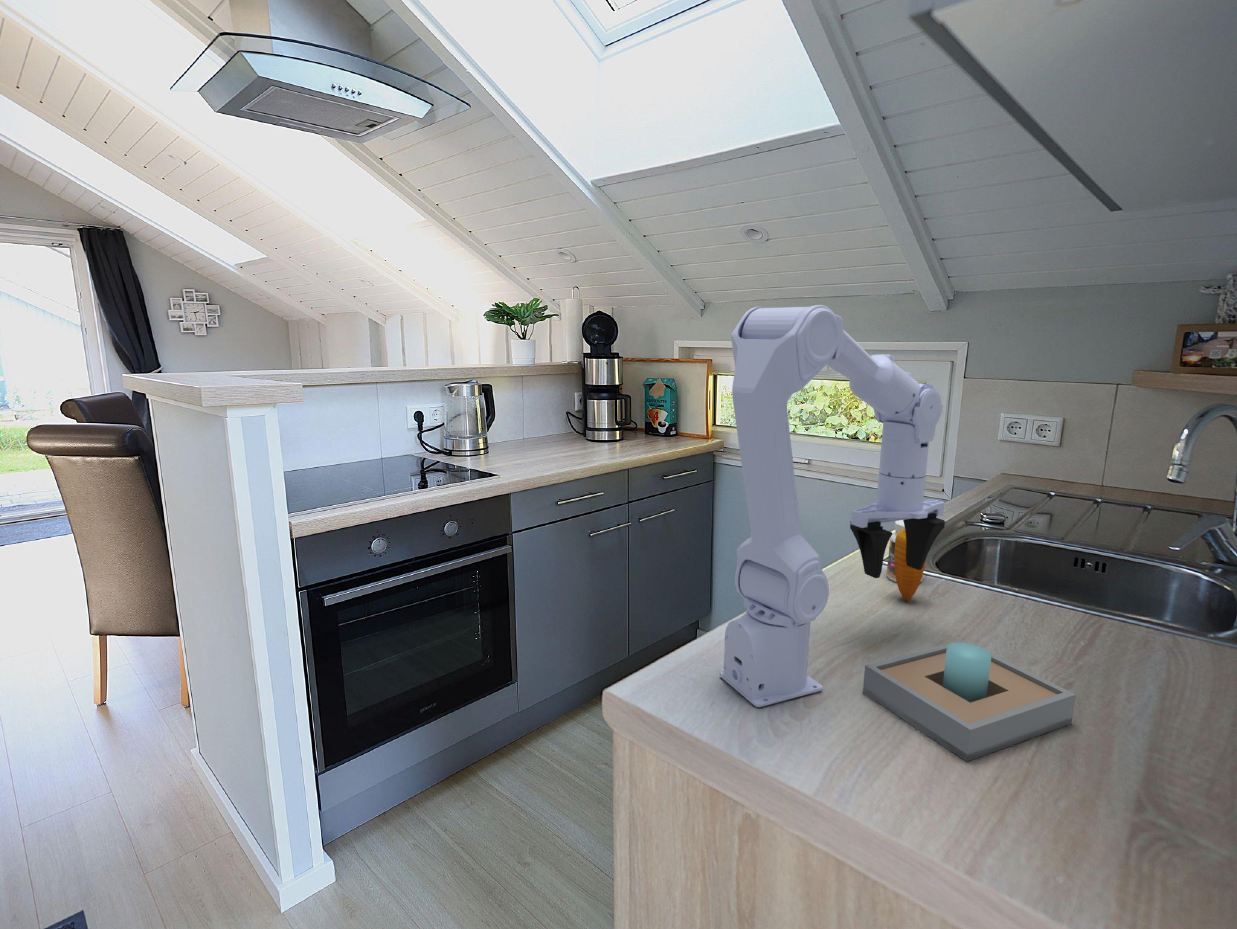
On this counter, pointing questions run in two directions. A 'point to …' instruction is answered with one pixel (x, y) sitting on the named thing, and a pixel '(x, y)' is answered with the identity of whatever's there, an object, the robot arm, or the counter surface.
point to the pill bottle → (890, 566)
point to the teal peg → (967, 671)
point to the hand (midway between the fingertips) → (893, 571)
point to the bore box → (960, 726)
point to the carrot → (905, 569)
